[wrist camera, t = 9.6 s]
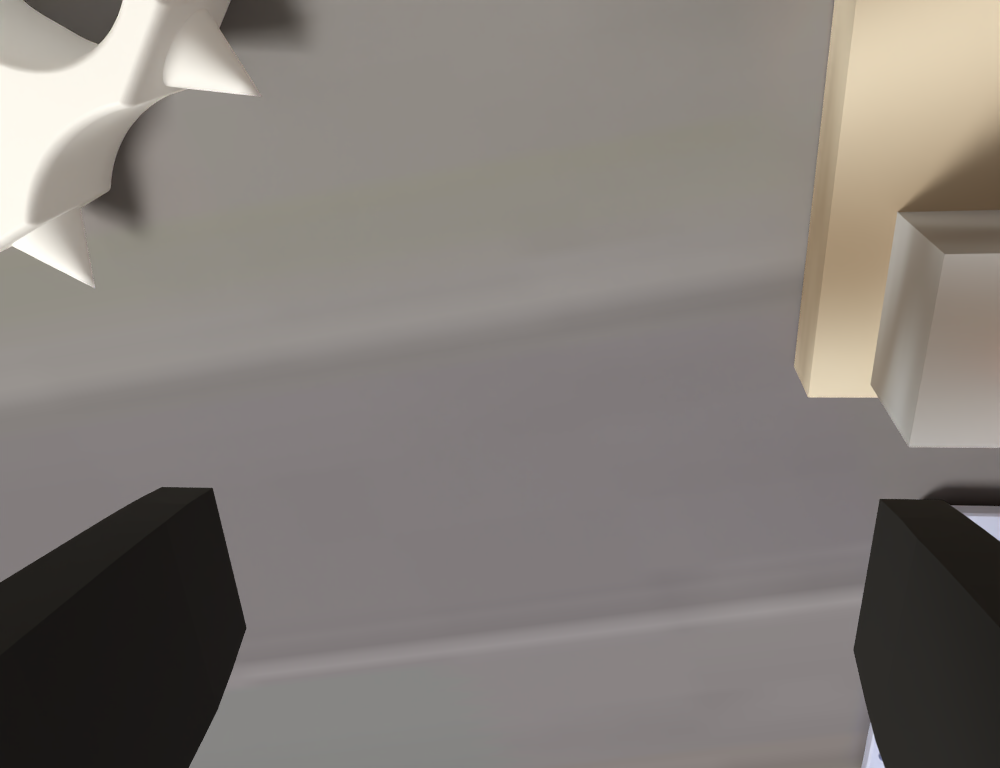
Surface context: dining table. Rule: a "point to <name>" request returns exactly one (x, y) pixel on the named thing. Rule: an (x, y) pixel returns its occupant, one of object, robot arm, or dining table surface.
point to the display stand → (909, 220)
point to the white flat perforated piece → (91, 109)
